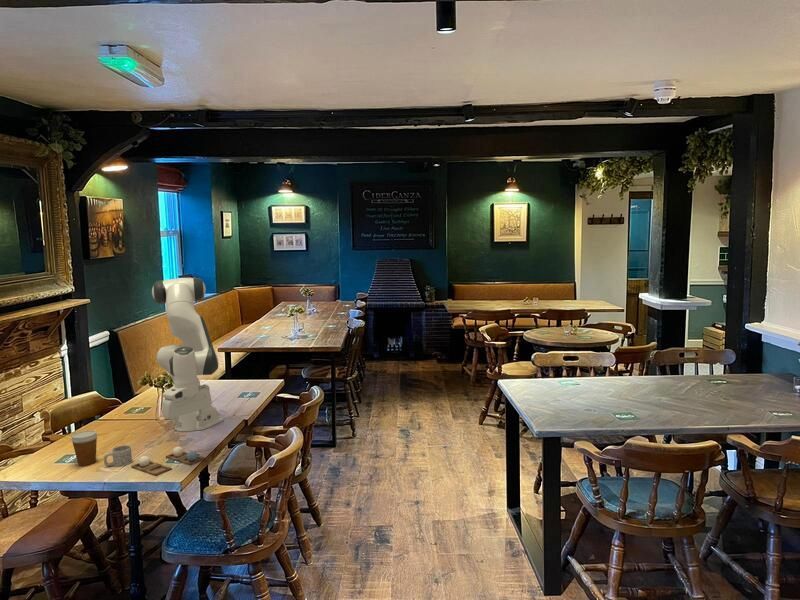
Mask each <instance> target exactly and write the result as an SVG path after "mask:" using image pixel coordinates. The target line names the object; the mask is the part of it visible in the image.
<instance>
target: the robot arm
mask: <svg viewBox="0 0 800 600" xmlns="http://www.w3.org/2000/svg"><path fill="white" fill-rule="evenodd" d="M206 291H207V290H206V285H205V283H204V281H203V279H201V278H200V277H178V278H172V279H170V278H169V279H165V280H162V279H161V280H157V281H155V282H154V283H153V286H152V288H151V296H152V298H153V299H154V302H156V303H157V304H158V305H165V312H166V317H167V321H168V322H169V331H170V334H171V335H172V336H173V337H175V338H177V339H179V341H181V342H182V344H171V345H170V344H169V345H166V346H162V347H160V348H159V350H158V351H157V352H156V362H157V364H158V366H159V367H160V368H162V369H163V370H165V371H166V372H167V374H169V376H170V378H171V379H172V381H173V386H171V387H170V388H168V389H167V390H165V391H164V392H163V393H162V398H163V400H162V416H163V418H164V419H167V420H172V421H173V422H174V423H175V425H174V430H175V431H178V432H193V431H204V430H206V429H208V428H211V427H213V426H214V425H218V424H219V423H221V422H223V421H224V417H223V416H221V415H219V413H218V409H217V408H216V407H215V406H213V405H212V404H213V401H212V396H211V395H212V394H211V392H210V386H209V385H207V383H206V384H202V385H201V381H200V379H199V378H198V376H212V375H214V373H215V372H217V371H218V369H219V358H218V356H217V353H216V350H215V348H214V345H213V342H212V339H211V336H210V333H209V329H208V325H207V324H206V321H205V319H204V317H203V316H202V315H199V313H198V312H197V311H196V309H195V305H194V302H195V304H197V303H198V302H199V301H202V300H203V299H204V298H205V295H206Z"/></svg>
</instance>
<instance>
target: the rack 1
mask: <svg viewBox="0 0 800 600" xmlns="http://www.w3.org/2000/svg"><path fill="white" fill-rule="evenodd" d="M130 467H131V469H134V470H136V471H139V472H141V473H142V472H143V473H145V474H148V475H150V476H153V477H158V476H160V475H162V474H165V473H167V472H170V471H173V468H172V467H170V466H168V465H164V464H161V463H159V462H155V461H151V460H150V463H149V464H148V465H147V466H145V467H142V466H140V465H139V462H138V463H136V464H132V465H131V466H130Z"/></svg>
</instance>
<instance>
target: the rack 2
mask: <svg viewBox="0 0 800 600" xmlns="http://www.w3.org/2000/svg"><path fill="white" fill-rule="evenodd" d="M187 454H188V452H187V451H184V450H183V454H182V455H181V456H180V457H176V456H174V455H173V453H170V454H169V455H168V454H167V455H165V459H168V460H171V461H174V462H177V463H180V464H184V465H187V466H193V465H196V464H198V463H201V462H203V461H205V460H206V457H203V456H201V455H197V459H196V460H194V461H189V460H188V459H187Z"/></svg>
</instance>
